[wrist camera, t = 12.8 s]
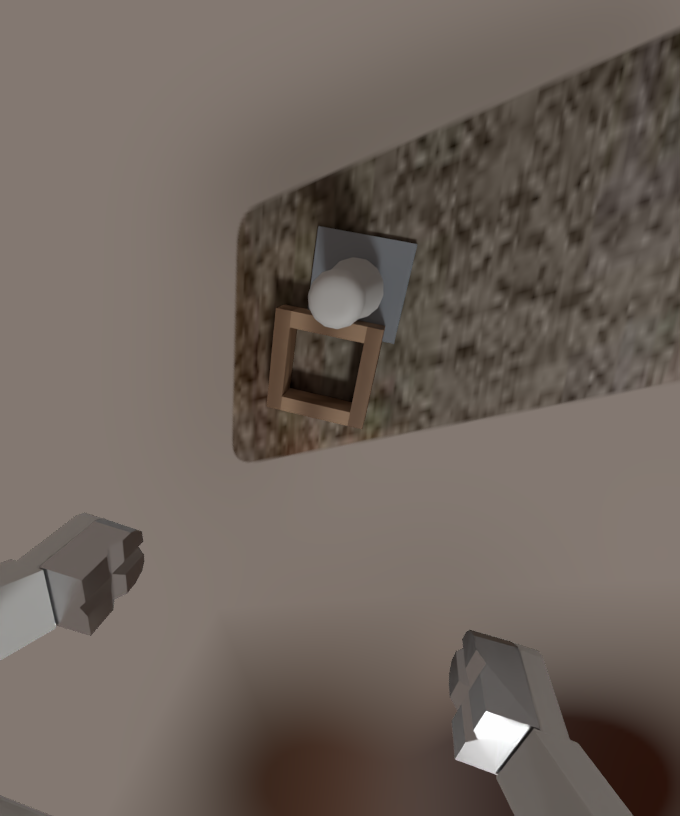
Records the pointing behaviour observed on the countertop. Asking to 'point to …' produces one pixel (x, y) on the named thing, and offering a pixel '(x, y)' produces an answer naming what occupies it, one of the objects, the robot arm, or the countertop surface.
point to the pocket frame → (312, 403)
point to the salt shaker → (345, 293)
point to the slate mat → (384, 255)
